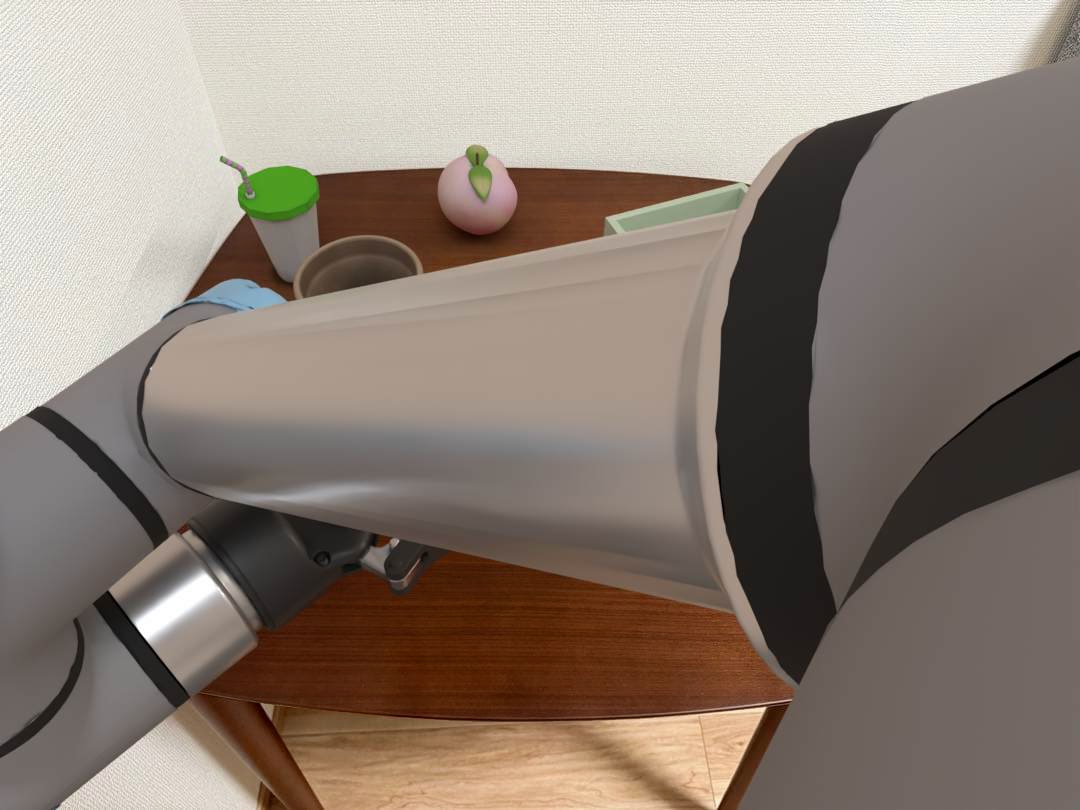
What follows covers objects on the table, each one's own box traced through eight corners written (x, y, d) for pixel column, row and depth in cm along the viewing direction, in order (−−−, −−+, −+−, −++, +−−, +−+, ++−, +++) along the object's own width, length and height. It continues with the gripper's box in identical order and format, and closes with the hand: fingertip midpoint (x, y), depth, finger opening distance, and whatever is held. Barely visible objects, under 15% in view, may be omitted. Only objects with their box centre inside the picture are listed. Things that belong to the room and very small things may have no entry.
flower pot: (386, 415, 75) (371, 337, 67) (290, 369, 79) (264, 290, 71) (455, 337, 82) (448, 259, 74) (363, 298, 85) (347, 219, 77)
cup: (345, 249, 90) (318, 126, 79) (326, 297, 85) (294, 173, 74) (275, 243, 91) (239, 120, 79) (252, 291, 86) (210, 167, 74)
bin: (807, 349, 81) (835, 276, 74) (669, 395, 77) (685, 321, 70) (725, 255, 90) (743, 181, 83) (598, 291, 86) (605, 217, 79)
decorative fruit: (433, 212, 95) (425, 135, 87) (501, 200, 96) (499, 123, 89) (452, 264, 89) (445, 186, 81) (524, 250, 90) (524, 172, 83)
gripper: (153, 508, 49) (441, 320, 60) (350, 741, 41) (645, 473, 52) (104, 431, 44) (432, 239, 54) (321, 684, 35) (660, 396, 46)
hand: (535, 353), depth 53 cm, fingers closed on can, 6 cm apart
